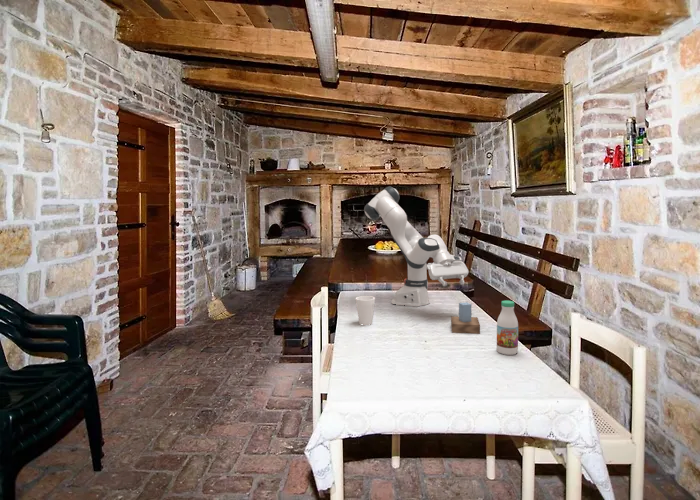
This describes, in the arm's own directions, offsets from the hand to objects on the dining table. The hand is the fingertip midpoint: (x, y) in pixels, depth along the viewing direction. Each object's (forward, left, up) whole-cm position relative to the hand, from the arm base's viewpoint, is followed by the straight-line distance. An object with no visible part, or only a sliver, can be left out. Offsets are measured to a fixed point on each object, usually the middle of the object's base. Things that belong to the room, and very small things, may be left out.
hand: (454, 284), depth 187 cm
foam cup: (-43, -8, -19) cm, 47 cm away
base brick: (+4, -10, -19) cm, 22 cm away
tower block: (+4, -10, -15) cm, 18 cm away
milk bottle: (+18, -36, -19) cm, 45 cm away
